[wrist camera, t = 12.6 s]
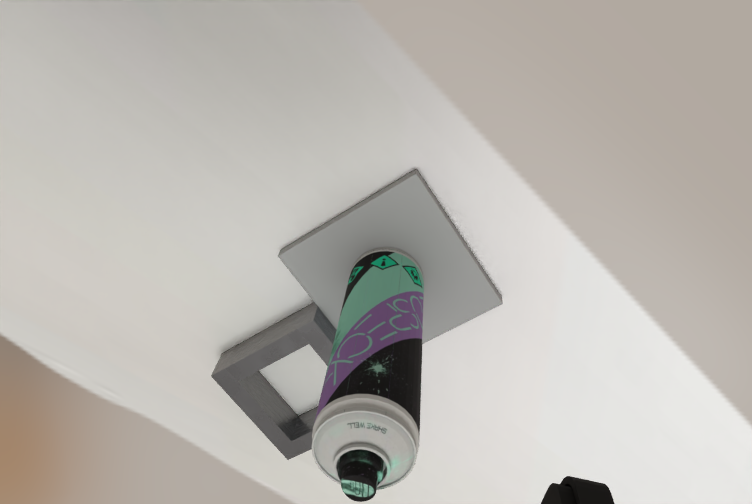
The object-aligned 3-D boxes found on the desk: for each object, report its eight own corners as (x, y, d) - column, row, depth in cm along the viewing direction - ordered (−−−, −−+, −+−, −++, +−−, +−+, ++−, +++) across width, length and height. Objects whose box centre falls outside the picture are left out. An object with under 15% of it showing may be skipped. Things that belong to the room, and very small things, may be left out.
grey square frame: (222, 353, 54) (211, 376, 51) (319, 299, 51) (313, 320, 48) (294, 434, 57) (287, 460, 54) (390, 388, 54) (388, 412, 51)
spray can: (437, 293, 48) (438, 509, 31) (373, 322, 50) (340, 543, 32) (400, 234, 46) (379, 428, 29) (336, 266, 48) (278, 469, 30)
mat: (280, 250, 49) (277, 256, 48) (416, 168, 45) (416, 173, 44) (370, 363, 53) (369, 370, 52) (501, 296, 49) (502, 303, 48)
